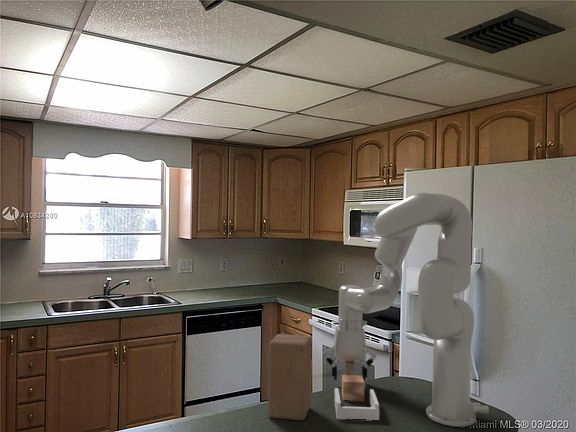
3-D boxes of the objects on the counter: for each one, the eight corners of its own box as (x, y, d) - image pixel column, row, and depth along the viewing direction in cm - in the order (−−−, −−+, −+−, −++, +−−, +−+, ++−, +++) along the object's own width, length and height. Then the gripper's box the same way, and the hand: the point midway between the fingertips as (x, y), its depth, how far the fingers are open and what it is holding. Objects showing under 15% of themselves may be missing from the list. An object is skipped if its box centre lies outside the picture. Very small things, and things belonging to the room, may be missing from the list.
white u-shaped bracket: (373, 403, 134) (373, 389, 134) (379, 420, 123) (379, 405, 123) (334, 402, 135) (334, 388, 135) (336, 419, 123) (336, 403, 123)
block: (358, 382, 151) (358, 361, 151) (364, 401, 136) (364, 377, 136) (339, 382, 152) (340, 360, 152) (343, 400, 136) (343, 376, 136)
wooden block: (304, 422, 121) (306, 344, 121) (266, 418, 123) (268, 341, 123) (310, 407, 131) (311, 335, 131) (275, 403, 133) (276, 332, 133)
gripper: (376, 322, 154) (375, 376, 153) (322, 321, 154) (321, 374, 154) (379, 327, 146) (378, 384, 146) (323, 326, 147) (322, 382, 147)
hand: (349, 379), depth 150 cm, fingers open, 8 cm apart
